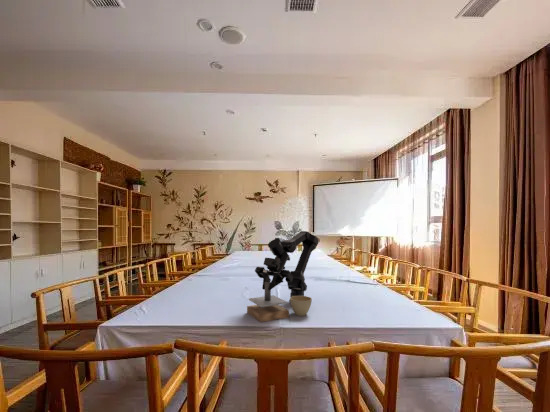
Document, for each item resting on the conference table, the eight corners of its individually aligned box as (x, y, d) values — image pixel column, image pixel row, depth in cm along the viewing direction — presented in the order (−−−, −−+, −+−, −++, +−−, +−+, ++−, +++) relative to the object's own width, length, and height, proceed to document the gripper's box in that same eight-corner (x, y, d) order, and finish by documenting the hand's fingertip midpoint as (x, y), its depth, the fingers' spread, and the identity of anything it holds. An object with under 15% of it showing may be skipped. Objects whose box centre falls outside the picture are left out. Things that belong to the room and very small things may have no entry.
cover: (273, 296, 139) (273, 278, 140) (287, 303, 128) (287, 283, 129) (248, 299, 133) (248, 280, 134) (260, 307, 122) (261, 286, 122)
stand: (273, 308, 140) (273, 302, 140) (288, 317, 128) (288, 310, 128) (247, 312, 133) (247, 306, 133) (260, 322, 121) (260, 314, 121)
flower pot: (310, 318, 126) (310, 301, 126) (288, 316, 128) (288, 300, 128) (312, 311, 136) (312, 296, 136) (291, 310, 138) (291, 294, 138)
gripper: (257, 249, 140) (241, 276, 131) (289, 252, 130) (275, 281, 120) (266, 264, 146) (252, 290, 137) (298, 267, 136) (285, 296, 126)
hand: (265, 289), depth 130 cm, fingers closed on cover, 3 cm apart
